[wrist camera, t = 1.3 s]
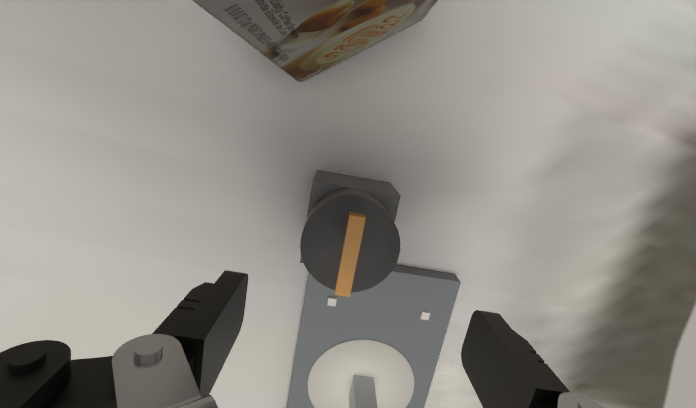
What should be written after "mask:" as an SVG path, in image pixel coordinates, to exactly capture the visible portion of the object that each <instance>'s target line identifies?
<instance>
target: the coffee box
mask: <svg viewBox="0 0 696 408" xmlns="http://www.w3.org/2000/svg"><path fill="white" fill-rule="evenodd" d="M193 1H194V2H195V3H197V4H198V5H199V6H200V7H202V8H203V9H204V10H206V11H207V12H208V13H210V14H211V15H212V16H214V17H215V18H216V19H218V20H219V21H221V22H222V23H223V24H224V25H226V26H227V27H228V28H229V29H231V30H232V31H233V32H235V33H236V34H237V35H239V36H240V37H242V38H243V39H244V40H245V41H247V42H248V43H249V44H250V45H252V46H253V47H254V48H255V49H257V50H258V51H260V52H261V53H262V54H263V55H265V56H266V57H267V58H268V59H270V60H271V61H272V62H274V63H275V64H276V65H278V66H279V67H280V68H282V69H283V70H284V71H285V72H287V73H288V74H289V75H291V76H292V77H294V78H295V79H296V80H297V81H300V82H302V81H304V80H307V79H309V78H311V77H313V76H315V75H317V74H319V73H321V72H322V71H324V70H326V69H328V68H330V67H332V66H334V65H336V64H338V63H340V62H342V61H344V60H346V59H348V58H349V57H351V56H353V55H355V54H357V53H359V52H361V51H363V50H365V49H367V48H368V47H370V46H372V45H374V44H376V43H378V42H380V41H382V40H384V39H386V38H387V37H389V36H391V35H393V34H395V33H397V32H399V31H401V30H403V29H404V28H406V27H408V26H410V25H412V24H414V23H416V22H418V21H420V20H421V19H423V18H424V17H425V15H426V14H427V13H428V11H429V10H430V9H431V8H432V6H433V5H434V4H435V3H436V2H437V0H193Z"/></svg>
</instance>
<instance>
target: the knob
mask: <svg viewBox="0 0 696 408" xmlns="http://www.w3.org/2000/svg"><path fill="white" fill-rule="evenodd" d="M399 199H400V195H399V194H398V192H397V191H396V190H395V188H394V187H393V186H392V185H391V183H388V182H382V181H376V180H370V179H365V178H359V177H353V176H348V175H342V174H336V173H331V172H325V171H319V170H317V173H316V175H315V177H314V179H313V184H312V190H311V196H310V203H309V209H308V215H307V221H306V224H305V227H304V230H303V233H302V237H301V245H300V247H301V260H300V263H304V265H305V266H306V268H307V270H308V271H309V273H310V274H311V275H312V276H313V278H314V279H316V280H317V281H318V282H319V283H321V284H322V285H324V286H326V287H328V288H330V289H333V290H335V295H339V296H346V297H350V293H351V292H359V291H364V290H367V289H370V288H372V287H374V286H376V285H378V284H379V283H380V282H382V281H383V280H384V279H385V278H386V277H387V276H388V275H389V274H390V273H391V272H392V270H393V268H394V267H395V265H396V263H397V260H398V257H399V252H400V238H399V234H398V230H397V228H396V226H395V224H394V221H395V217H396V213H397V208H398V204H399Z"/></svg>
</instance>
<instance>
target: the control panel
mask: <svg viewBox="0 0 696 408" xmlns="http://www.w3.org/2000/svg"><path fill="white" fill-rule="evenodd" d="M459 286H460V281H459V279H458V278H457V276H456V275H455V274H449V273H443V272H436V271H430V270H424V269H417V268H411V267H405V266H398V265H395V267H394V268H393V270H392V272H391V273H390V274H389V275H388V276H387V277H386V278H385V279H384V280H383V281H382V282H380V283H379V284H378V285H376V286H374V287H372V288H370V289H367V290H364V291H359V292H351V293H350V297H346V296H339V295H335V290H333V289H330V288H328V287H326V286H324V285H322V284H321V283H319V282H318V281H317V280H316V279H314V278H313V276H312V275H311V274H310V273H309V276H308V282H307V288H306V294H305V300H304V306H303V312H302V318H301V324H300V330H299V336H298V342H297V348H296V354H295V360H294V366H293V372H292V378H291V384H290V390H289V396H288V402H287V408H424V406H425V402H426V399H427V395H428V392H429V388H430V385H431V382H432V378H433V375H434V371H435V368H436V365H437V361H438V358H439V354H440V351H441V347H442V344H443V341H444V337H445V334H446V330H447V327H448V323H449V320H450V317H451V313H452V310H453V306H454V303H455V300H456V296H457V293H458V289H459Z"/></svg>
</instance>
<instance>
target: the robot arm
mask: <svg viewBox="0 0 696 408" xmlns="http://www.w3.org/2000/svg"><path fill="white" fill-rule="evenodd" d="M247 284H248V274H245V273H239V272H233V271H224V272H223V273H222V275H221V276H220V277H219V279H218V280H217V281H216V282H215V284H213V283H206V282H205V283H203V284H201V285H199V286H197V287H196V288H194V289H192V290H191V291H190V292H189V293H188V294H187V296H186V297H185V298H184V300H182V301H181V302H180V303H179V305H178V306H177V308H175V309H174V310H173V311H172V312H171V313H170V315H169V316H168V317H167V318H166V319H165V320H164V321H163V322H162V324H161V325H160V326H159V327H158V328H157V329H156V330H155V331H154V333H153V334H149V335H144V336H140V337H137V338H134V339H132V340H130V341H128V342H126V343H125V344H123V345H122V346H121V347H119V348H118V349H117V350H116V352H115V353H114V355H113V356H109V357H100V358H89V359H77V360H71V350H70V348H69V346H68V345H66V344H65V343H62V342H59V341H53V340H43V341H34V342H29V343H25V344H21V345H18V346H15V347H12V348H10V349H7V350H5V351H3V352H1V353H0V408H218V407H217V404H216V402H215V400H214V398H213V397H212V396H211V395H209V393H210V391H211V389H212V387H213V385H214V383H215V381H216V379H217V377H218V375H219V373H220V371H221V369H222V367H223V365H224V363H225V361H226V359H227V357H228V355H229V352H230V350H231V348H232V346H233V344H234V342H235V340H236V338H237V336H238V334H239V332H240V329H241V325H242V322H243V317H244V309H245V301H246V293H247ZM461 358H462V364H463V367H464V369H465V371H466V373H467V375H468V377H469V379H470V381H471V383H472V385H473V387H474V390H475V392H476V394H477V396H478V398H479V400H480V402H481V404H482V406H483V408H603V407H602V406H601V405H599V404H598V403H596V402H594V401H593V400H591V399H589V398H587V397H584V396H582V395H579V394H576V393H571V392H570V391H569V390H568V389H567V388H566V387H565V385H564V384H563V383H562V382H561V381H560V379H559V378H558V377H557V376H556V375H555V374H554V372H553V371H552V370H551V369H550V368H549V366H548V365H547V364H545V363H544V360H543V359H542V358H541V357H540V356H539V355H538V354H536V351H535V350H534V349H533V347H532V346H531V345H530V344H529V343H528V341H527V340H525V339H524V338H523V337H521V336H520V335H519V334H517V333H516V332H515V331H513V330H512V329H511V328H510V326H509V325H508V324H507V323H506V322H505V320H504V319H503V318H502V317H501V315H500V314H498V313H492V312H486V311H479V310H476V311H475V312H474V313H473V315H472V317H471V320H470V324H469V327H468V330H467V333H466V337H465V340H464V343H463V346H462V352H461Z"/></svg>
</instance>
